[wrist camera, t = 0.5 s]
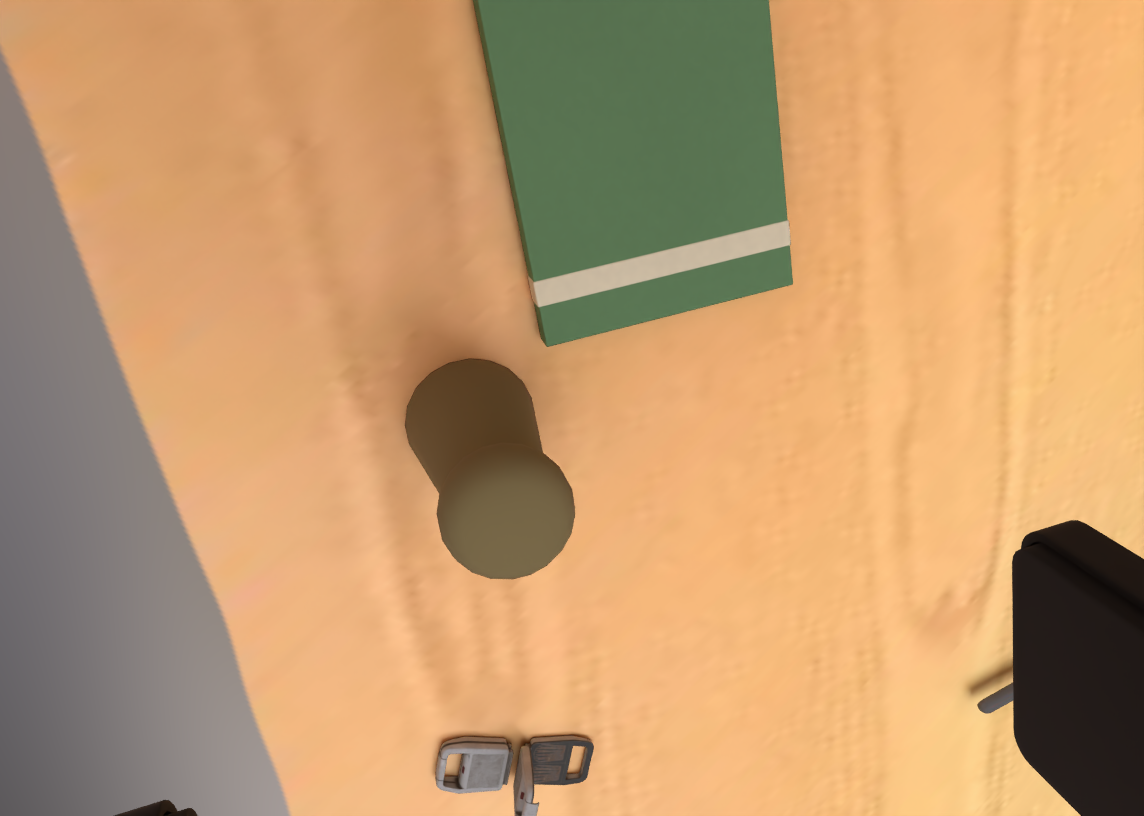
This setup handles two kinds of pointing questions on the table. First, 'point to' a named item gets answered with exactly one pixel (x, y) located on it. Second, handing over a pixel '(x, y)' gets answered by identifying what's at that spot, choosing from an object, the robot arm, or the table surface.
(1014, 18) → the table surface
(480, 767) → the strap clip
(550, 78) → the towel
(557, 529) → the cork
